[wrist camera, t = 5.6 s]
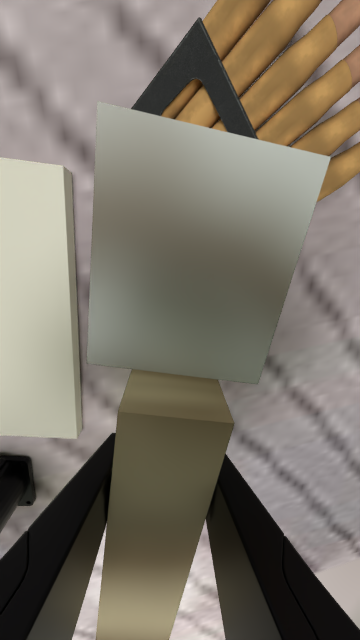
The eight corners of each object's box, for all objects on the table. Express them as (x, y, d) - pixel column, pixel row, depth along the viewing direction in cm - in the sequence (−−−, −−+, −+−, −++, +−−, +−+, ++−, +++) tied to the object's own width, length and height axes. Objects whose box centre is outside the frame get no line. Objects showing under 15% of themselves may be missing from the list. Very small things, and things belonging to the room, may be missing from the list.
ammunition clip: (226, 258, 16) (443, 123, 10) (222, 265, 15) (476, 111, 8) (142, 120, 14) (367, -190, 7) (127, 111, 12) (395, -290, 6)
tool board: (82, 428, 21) (77, 438, 19) (-14, 424, 20) (-25, 434, 19) (71, 173, 14) (63, 165, 13) (-70, 154, 14) (-92, 145, 12)
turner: (193, 552, 12) (200, 647, 9) (85, 548, 11) (57, 647, 8) (306, 171, 6) (418, 103, 4) (109, 126, 6) (50, 2, 3)
